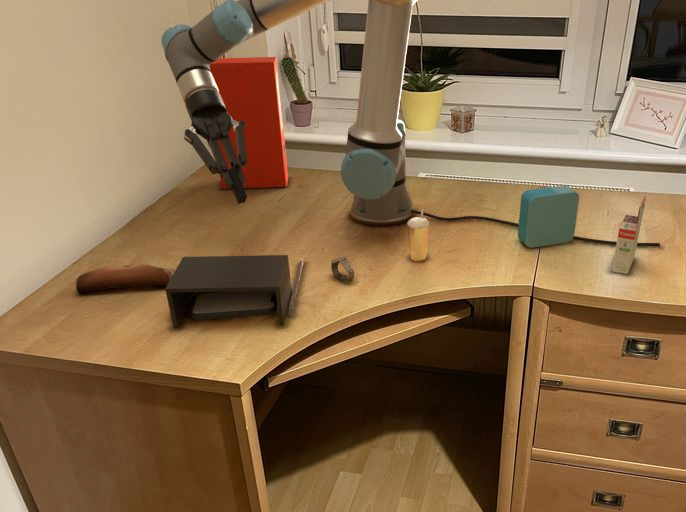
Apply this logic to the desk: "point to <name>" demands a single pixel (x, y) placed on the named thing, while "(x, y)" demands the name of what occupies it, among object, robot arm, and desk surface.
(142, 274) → the sunglasses case
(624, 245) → the ink box
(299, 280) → the rails
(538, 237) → the data package
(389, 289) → the desk surface
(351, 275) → the wristwatch
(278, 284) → the cover
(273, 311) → the phone case
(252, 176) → the tall red block
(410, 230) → the milkshake
